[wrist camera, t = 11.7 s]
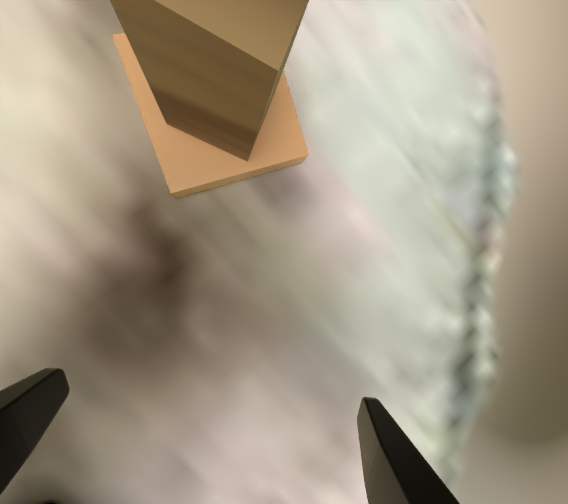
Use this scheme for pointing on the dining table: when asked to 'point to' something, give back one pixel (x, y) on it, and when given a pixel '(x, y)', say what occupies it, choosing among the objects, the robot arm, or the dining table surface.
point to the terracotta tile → (203, 156)
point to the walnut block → (213, 62)
